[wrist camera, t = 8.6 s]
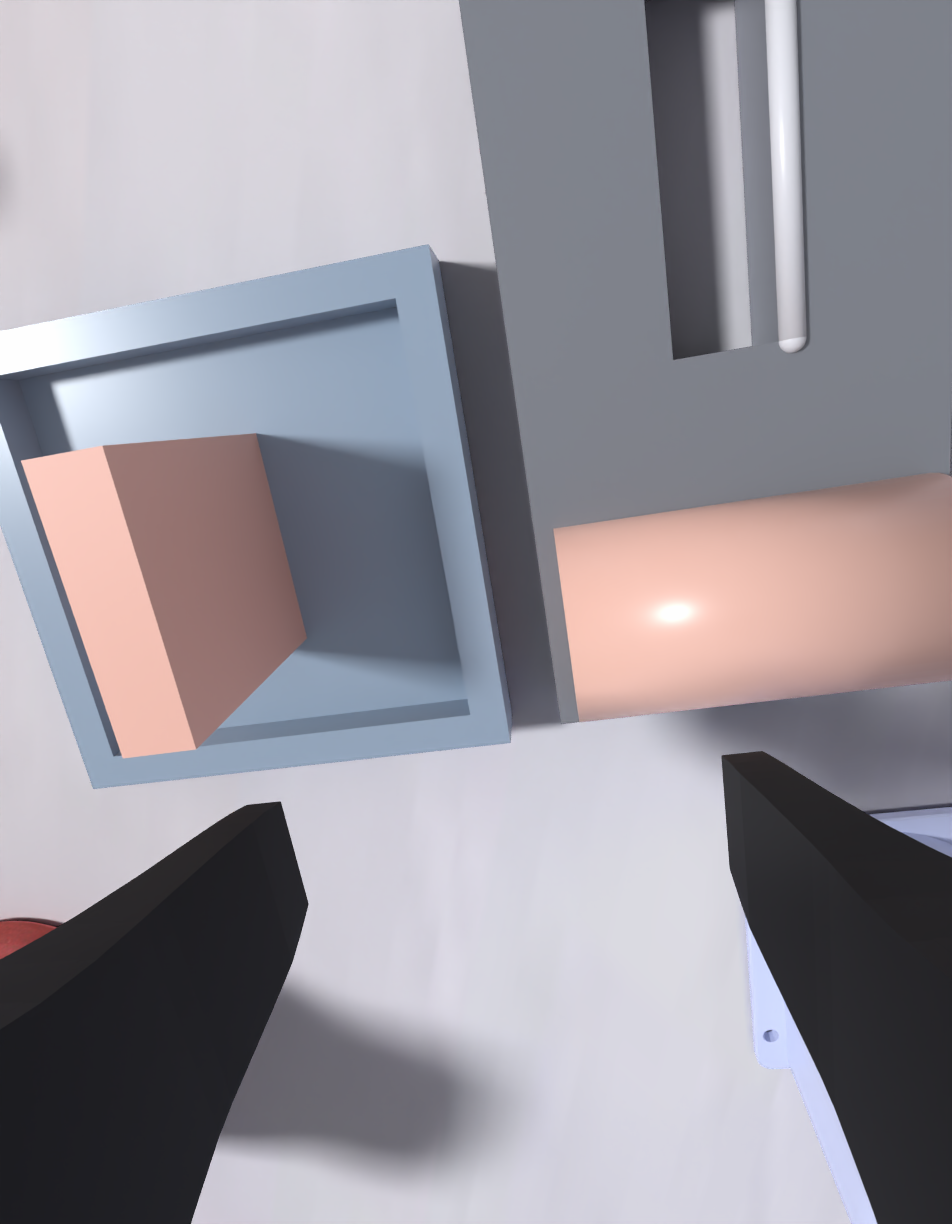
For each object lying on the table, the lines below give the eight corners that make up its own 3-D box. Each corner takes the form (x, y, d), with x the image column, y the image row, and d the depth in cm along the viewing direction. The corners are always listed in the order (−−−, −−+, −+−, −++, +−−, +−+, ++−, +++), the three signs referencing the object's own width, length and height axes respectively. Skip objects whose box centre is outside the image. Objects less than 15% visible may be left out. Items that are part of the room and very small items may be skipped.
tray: (512, 716, 21) (510, 742, 19) (126, 760, 23) (93, 788, 21) (439, 260, 18) (428, 244, 16) (-11, 350, 19) (-64, 344, 18)
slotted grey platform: (905, 654, 20) (1024, 732, 15) (558, 695, 21) (565, 779, 16) (910, -118, 15) (1088, -368, 10) (459, -6, 16) (428, -183, 11)
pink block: (307, 638, 20) (196, 749, 14) (256, 645, 21) (122, 758, 14) (255, 433, 19) (101, 445, 12) (201, 443, 19) (21, 460, 12)
